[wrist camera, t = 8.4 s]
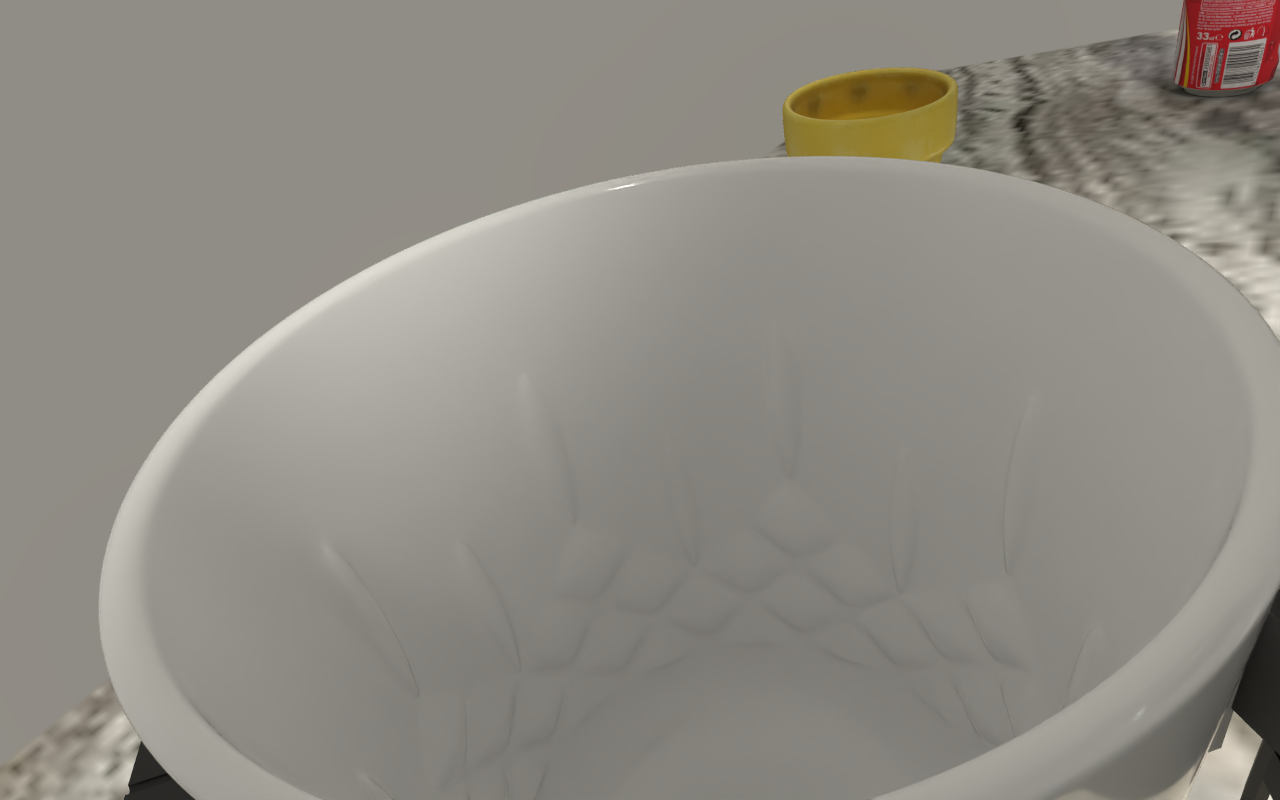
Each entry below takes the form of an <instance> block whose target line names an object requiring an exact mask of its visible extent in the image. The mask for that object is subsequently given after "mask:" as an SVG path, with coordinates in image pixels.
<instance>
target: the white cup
mask: <svg viewBox="0 0 1280 800" xmlns="http://www.w3.org/2000/svg"><path fill="white" fill-rule="evenodd" d="M1279 589H1280V341H1279V340H1278V338H1277V336H1276V335H1275V334H1274V332H1273V331H1272V329H1271V328H1270V326H1269V325H1268V324H1267V322H1266V321H1265V320H1264V318H1263V317H1262V316H1261V314H1260V313H1259V312H1258V311H1257V310H1256V308H1255V307H1254V306H1253V305H1252V304H1251V303H1250V301H1249V300H1248V299H1247V298H1246V297H1245V296H1244V295H1243V294H1242V293H1241V292H1240V291H1239V290H1238V289H1237V288H1236V287H1235V286H1234V285H1233V284H1232V283H1231V282H1230V281H1229V280H1227V279H1226V278H1225V277H1224V276H1223V275H1222V274H1221V273H1219V272H1218V271H1217V270H1216V269H1215V268H1213V267H1212V266H1211V265H1210V264H1208V263H1207V262H1206V261H1204V260H1203V259H1202V258H1200V257H1199V256H1198V255H1196V254H1195V253H1193V252H1192V251H1190V250H1189V249H1187V248H1186V247H1184V246H1183V245H1181V244H1180V243H1178V242H1176V241H1175V240H1173V239H1172V238H1170V237H1168V236H1166V235H1165V234H1163V233H1161V232H1160V231H1158V230H1156V229H1154V228H1152V227H1150V226H1149V225H1147V224H1145V223H1143V222H1141V221H1139V220H1137V219H1135V218H1133V217H1131V216H1128V215H1126V214H1124V213H1122V212H1120V211H1117V210H1115V209H1113V208H1110V207H1108V206H1106V205H1103V204H1101V203H1098V202H1095V201H1093V200H1090V199H1088V198H1085V197H1082V196H1079V195H1076V194H1073V193H1071V192H1067V191H1064V190H1061V189H1058V188H1055V187H1052V186H1048V185H1045V184H1041V183H1037V182H1034V181H1030V180H1026V179H1022V178H1018V177H1014V176H1009V175H1005V174H1000V173H996V172H991V171H986V170H980V169H975V168H969V167H963V166H957V165H950V164H943V163H935V162H927V161H917V160H907V159H894V158H879V157H857V156H799V157H775V158H759V159H746V160H735V161H726V162H716V163H708V164H699V165H692V166H685V167H678V168H672V169H666V170H660V171H654V172H648V173H643V174H638V175H632V176H627V177H623V178H618V179H614V180H609V181H604V182H600V183H596V184H591V185H587V186H583V187H579V188H575V189H572V190H568V191H564V192H560V193H557V194H553V195H550V196H546V197H543V198H539V199H536V200H533V201H529V202H526V203H523V204H520V205H517V206H514V207H511V208H508V209H505V210H502V211H499V212H496V213H493V214H490V215H487V216H484V217H482V218H479V219H476V220H474V221H471V222H469V223H466V224H463V225H461V226H458V227H456V228H453V229H451V230H448V231H446V232H443V233H441V234H438V235H436V236H434V237H431V238H429V239H427V240H425V241H422V242H420V243H418V244H415V245H413V246H411V247H409V248H407V249H405V250H403V251H400V252H398V253H397V254H394V255H392V256H390V257H388V258H386V259H384V260H382V261H380V262H378V263H376V264H374V265H372V266H370V267H369V268H367V269H365V270H363V271H361V272H359V273H358V274H356V275H354V276H352V277H350V278H349V279H347V280H345V281H343V282H342V283H340V284H338V285H336V286H335V287H333V288H331V289H330V290H328V291H326V292H325V293H323V294H322V295H320V296H318V297H317V298H315V299H314V300H312V301H310V302H309V303H307V304H306V305H304V306H303V307H301V308H300V309H299V310H297V311H295V312H294V313H293V314H291V315H290V316H288V317H287V318H285V319H284V320H283V321H281V322H280V323H278V324H277V325H276V326H274V327H273V328H272V329H270V330H269V331H268V332H266V333H265V334H264V335H262V336H261V337H260V338H259V339H258V340H256V341H255V342H253V343H252V344H251V345H250V346H249V347H247V348H246V349H245V350H244V351H243V352H241V353H240V354H239V355H238V356H237V357H236V358H234V359H233V360H232V361H231V362H230V363H229V364H228V365H227V366H225V367H224V368H223V369H222V370H221V371H220V372H219V373H218V374H217V375H216V376H215V377H214V378H213V379H212V380H211V381H210V382H209V383H208V384H207V385H206V386H205V387H204V388H203V389H202V390H201V391H200V392H199V393H198V394H197V395H196V396H195V397H194V398H193V399H192V400H191V402H189V404H188V405H187V406H186V407H185V408H184V409H183V411H182V412H181V413H180V414H179V415H178V416H177V418H176V419H175V420H174V421H173V423H172V424H171V425H170V426H169V427H168V429H167V430H166V431H165V433H164V434H163V435H162V437H161V438H160V439H159V441H158V442H157V444H156V445H155V446H154V448H153V449H152V451H151V452H150V454H149V455H148V457H147V458H146V460H145V462H144V463H143V465H142V466H141V468H140V470H139V471H138V473H137V475H136V477H135V479H134V480H133V482H132V484H131V486H130V488H129V490H128V492H127V494H126V496H125V498H124V500H123V502H122V505H121V507H120V509H119V512H118V514H117V517H116V519H115V522H114V525H113V528H112V531H111V534H110V537H109V540H108V544H107V549H106V552H105V556H104V561H103V566H102V572H101V578H100V587H99V604H98V605H99V606H98V609H99V610H98V611H99V612H98V613H99V630H100V638H101V644H102V651H103V655H104V659H105V664H106V667H107V670H108V674H109V677H110V680H111V683H112V686H113V688H114V691H115V693H116V696H117V698H118V700H119V703H120V705H121V707H122V709H123V711H124V713H125V715H126V717H127V718H128V720H129V722H130V724H131V725H132V727H133V729H134V730H135V732H136V733H137V735H138V737H139V738H140V739H141V741H142V742H143V744H144V745H145V746H146V748H147V749H148V750H149V752H150V753H151V754H152V755H153V757H154V758H155V759H156V760H157V762H158V763H159V764H160V765H161V766H162V767H163V769H164V770H165V771H166V772H167V773H168V774H169V775H170V776H171V777H172V778H173V779H174V780H175V781H176V782H177V783H178V784H179V785H180V786H181V787H182V788H183V789H184V790H185V791H186V792H187V793H188V794H189V795H190V796H191V797H192V798H193V799H194V800H1187V798H1188V796H1189V794H1190V791H1191V789H1192V787H1193V784H1194V782H1195V780H1196V777H1197V775H1198V773H1199V770H1200V768H1201V766H1202V763H1203V761H1204V759H1205V757H1206V754H1207V752H1208V750H1209V747H1210V745H1211V743H1212V741H1213V738H1214V736H1215V734H1216V732H1217V729H1218V727H1219V725H1220V722H1221V720H1222V718H1223V716H1224V713H1225V711H1226V709H1227V707H1228V704H1229V702H1230V700H1231V697H1232V695H1233V693H1234V691H1235V688H1236V686H1237V684H1238V682H1239V679H1240V677H1241V675H1242V672H1243V670H1244V668H1245V666H1246V663H1247V661H1248V659H1249V657H1250V654H1251V652H1252V650H1253V648H1254V645H1255V643H1256V641H1257V639H1258V636H1259V634H1260V632H1261V629H1262V627H1263V625H1264V623H1265V620H1266V618H1267V616H1268V614H1269V611H1270V609H1271V607H1272V605H1273V602H1274V600H1275V598H1276V596H1277V594H1278V591H1279Z"/></svg>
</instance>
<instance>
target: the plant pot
mask: <svg viewBox="0 0 1280 800" xmlns="http://www.w3.org/2000/svg"><path fill="white" fill-rule="evenodd" d="M957 105H958V85H957V83H956V81H955V80H954V79H953V78H952V77H950V76H949V75H947V74H944V73H941V72H938V71H934V70H929V69H922V68H921V69H920V68H903V67H902V68H880V69H869V70H861V71H854V72H848V73H843V74H839V75H835V76H831V77H827V78H824V79H820V80H817V81H814V82H812V83H809V84H807V85H805V86H803V87H801V88H799V89H797V90H796V91H794V92H793V93H791V94H790V95H789V96H788V97H787V99H786V100H785V102H784V105H783V125H784V135H785V144H786V151H787V155H788V157H799V156H857V157H879V158H894V159H907V160H917V161H927V162H935V163H940V161H941V157H942V154H943V152H944V151H946V150H947V149H948V148H949V147H950V146H951V144H952V143H953V141H954V138H955V132H956V122H957Z"/></svg>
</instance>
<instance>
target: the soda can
mask: <svg viewBox="0 0 1280 800" xmlns="http://www.w3.org/2000/svg"><path fill="white" fill-rule="evenodd" d="M1279 59H1280V0H1184V2H1183V8H1182V14H1181V21H1180V27H1179V33H1178V39H1177V46H1176V53H1175V61H1174V82H1175V83H1176V84H1177V85H1179V86H1181V87H1182V88H1184V90H1185V91H1186V92H1188V93H1190V94H1193V95H1198V96H1207V97H1225V96H1235V95H1241V94H1245V93H1249V92H1251V91H1254V90H1255V89H1256V88H1257V87H1259V86H1261V85H1263V84H1265V83H1267V82H1268V81H1270V80H1271V79H1272V78H1273V77H1274V74H1275V71H1276V68H1277V65H1278V62H1279Z"/></svg>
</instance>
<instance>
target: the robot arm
mask: <svg viewBox="0 0 1280 800" xmlns="http://www.w3.org/2000/svg"><path fill="white" fill-rule="evenodd" d="M1233 711H1235V712H1236V713H1237V714H1238V715H1239V716H1240V717H1241V718H1242V719H1243V720H1244V721H1245V722H1246V723H1247V724H1248V725H1249V726H1250V727H1251V728H1252V729H1253V730H1254V731H1255V732H1256V733H1257V734H1258V735H1259V736H1260V737H1261V738H1262V739H1263V740H1262V742H1261V745H1260V747H1259V750H1258V753H1257V755H1256V758H1255V760H1254V763H1253V766H1252V768H1251V771H1250V773H1249V776H1248V779H1247V781H1246V784H1245V787H1244V790H1243V793H1242V796H1241V799H1240V800H1267V799H1268V797H1269V795H1271V797H1272V799H1273V800H1280V589H1279V591H1278V594H1277V596H1276V598H1275V600H1274V602H1273V605H1272V607H1271V609H1270V611H1269V614H1268V616H1267V618H1266V620H1265V623H1264V625H1263V627H1262V629H1261V632H1260V634H1259V636H1258V639H1257V641H1256V643H1255V645H1254V648H1253V650H1252V652H1251V654H1250V657H1249V659H1248V661H1247V663H1246V666H1245V668H1244V670H1243V672H1242V675H1241V677H1240V679H1239V682H1238V684H1237V686H1236V688H1235V691H1234V693H1233V695H1232V697H1231V700H1230V702H1229V704H1228V707H1227V709H1226V711H1225V713H1224V716H1223V718H1222V720H1221V722H1220V725H1219V727H1218V729H1217V732H1216V734H1215V736H1214V738H1213V741H1212V743H1211V745H1210V747H1209V750H1208V752H1211V751H1214V750H1216V749H1219V748H1221V746H1222V743H1223V740H1224V737H1225V734H1226V731H1227V729H1228V726H1229V723H1230V720H1231V717H1232V714H1233ZM1208 752H1207V753H1208ZM128 786H129V789H130V792H129V794H127V795H125V797H124V800H194V799H193V798H192V797H191V796H190V795H189V794H188V793H187V792H186V791H185V790H184V789H183V788H182V787H181V786H180V785H179V784H178V783H177V782H176V781H175V780H174V779H173V778H172V777H171V776H170V775H169V774H168V773H167V772H166V771H165V770H164V769H163V767H162V766H161V765H160V764H159V763H158V762H157V760H156V759H155V758H154V757H153V755H152V754H151V753H150V752H149V750H148V749H147V748H146V746H145V745H144V744H143V742H142V741H141V744H140V747H139V751H138V754H137V757H136V761H135V764H134V767H133V771H132V774H131V777H130V781H129V784H128Z"/></svg>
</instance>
